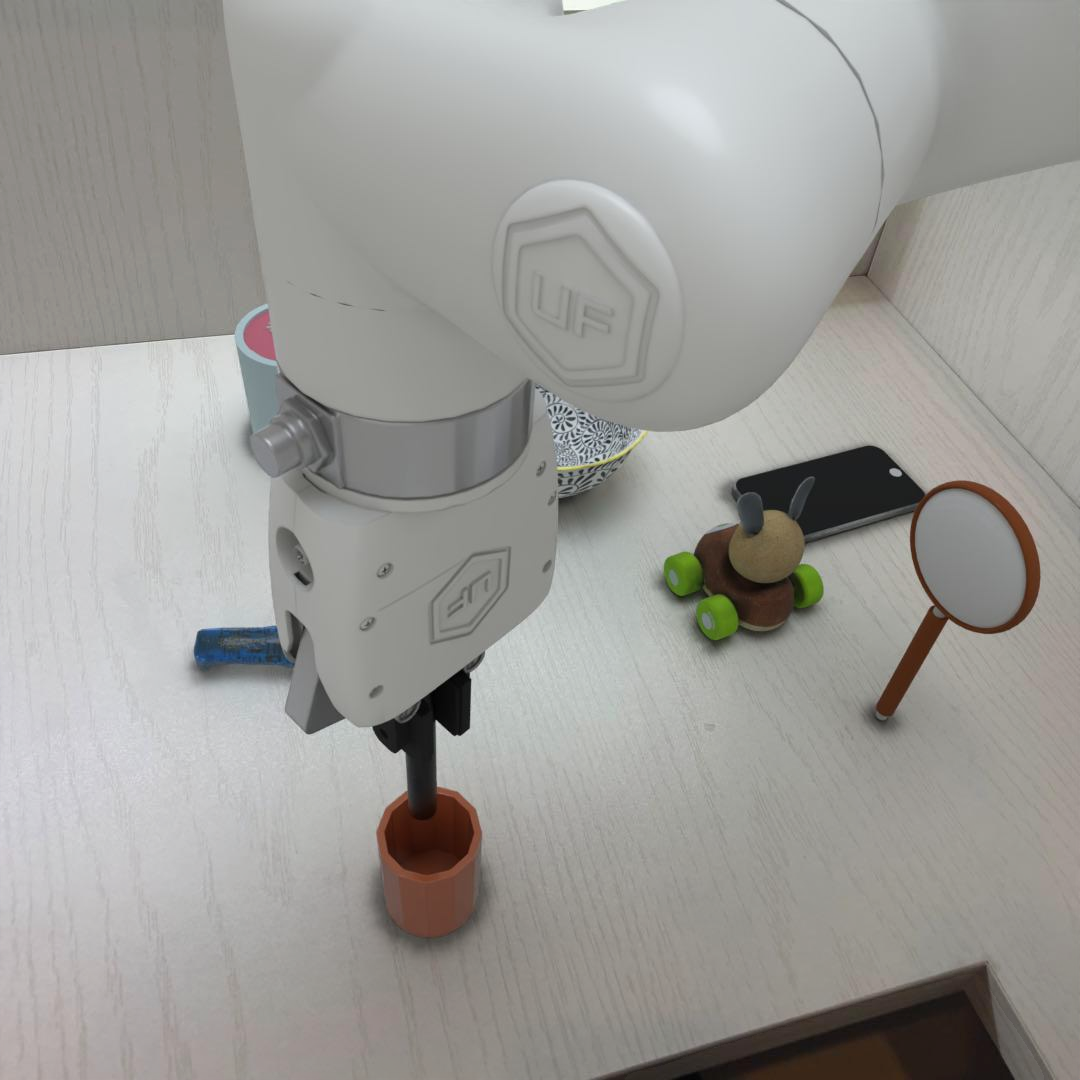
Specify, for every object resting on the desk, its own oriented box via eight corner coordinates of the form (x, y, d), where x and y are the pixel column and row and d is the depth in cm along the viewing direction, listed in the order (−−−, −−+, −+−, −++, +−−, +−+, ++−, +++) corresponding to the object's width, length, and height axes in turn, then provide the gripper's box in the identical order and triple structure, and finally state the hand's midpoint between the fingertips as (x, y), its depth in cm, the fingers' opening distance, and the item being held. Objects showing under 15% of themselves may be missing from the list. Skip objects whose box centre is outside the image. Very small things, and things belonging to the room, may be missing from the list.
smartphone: (934, 499, 79) (779, 544, 74) (931, 506, 79) (777, 551, 74) (876, 441, 83) (727, 480, 78) (873, 447, 84) (725, 486, 79)
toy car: (754, 536, 75) (790, 425, 67) (824, 616, 70) (872, 506, 62) (654, 570, 72) (679, 458, 64) (720, 657, 67) (756, 547, 59)
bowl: (426, 527, 74) (424, 452, 69) (462, 399, 85) (463, 326, 80) (635, 553, 73) (649, 480, 68) (643, 421, 84) (656, 350, 79)
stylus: (443, 808, 48) (442, 648, 39) (421, 826, 47) (415, 668, 38) (424, 789, 49) (418, 627, 39) (402, 807, 48) (390, 647, 38)
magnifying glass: (831, 671, 67) (935, 452, 52) (852, 664, 67) (960, 445, 53) (910, 775, 61) (1050, 563, 47) (932, 767, 62) (1077, 554, 48)
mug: (233, 426, 81) (211, 324, 73) (327, 385, 85) (316, 284, 78) (326, 517, 74) (312, 415, 67) (423, 467, 79) (420, 366, 71)
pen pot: (497, 891, 55) (501, 832, 49) (428, 958, 52) (425, 903, 47) (435, 830, 57) (433, 768, 52) (365, 890, 54) (356, 831, 49)
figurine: (197, 694, 63) (428, 687, 65) (185, 676, 60) (430, 669, 62) (202, 625, 65) (427, 621, 67) (192, 604, 62) (428, 600, 64)
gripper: (267, 597, 23) (333, 911, 37) (667, 348, 32) (603, 678, 45) (105, 444, 27) (219, 783, 40) (505, 255, 35) (490, 588, 48)
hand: (422, 726), depth 42 cm, fingers closed on stylus, 1 cm apart
